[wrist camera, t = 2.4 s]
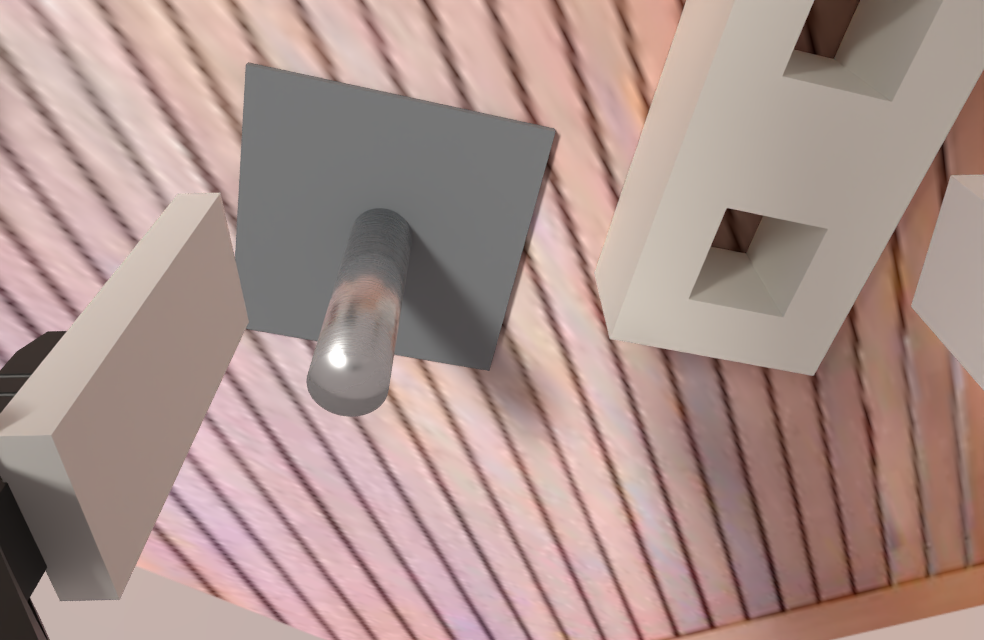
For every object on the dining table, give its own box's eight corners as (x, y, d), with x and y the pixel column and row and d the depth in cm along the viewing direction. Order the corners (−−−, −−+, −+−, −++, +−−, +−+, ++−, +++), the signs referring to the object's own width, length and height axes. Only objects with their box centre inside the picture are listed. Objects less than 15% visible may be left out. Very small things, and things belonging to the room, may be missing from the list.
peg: (347, 256, 40) (303, 409, 30) (355, 202, 38) (310, 345, 28) (406, 267, 40) (382, 422, 30) (416, 214, 39) (394, 359, 29)
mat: (233, 322, 43) (231, 326, 42) (248, 62, 35) (245, 65, 35) (489, 366, 44) (489, 370, 44) (554, 128, 37) (555, 131, 37)
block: (774, 307, 42) (813, 375, 37) (594, 272, 41) (609, 338, 36) (978, -106, 32) (1071, -89, 27) (744, -171, 31) (796, -165, 26)
